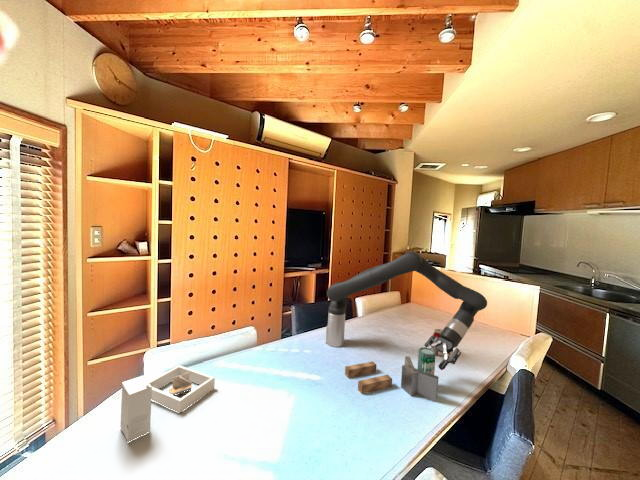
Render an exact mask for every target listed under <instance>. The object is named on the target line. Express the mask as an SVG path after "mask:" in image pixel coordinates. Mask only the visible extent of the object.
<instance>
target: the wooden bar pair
mask: <svg viewBox="0 0 640 480" xmlns="http://www.w3.org/2000/svg"><path fill="white" fill-rule="evenodd" d="M344 367H345V368H344V375H345V376H346V378H347V379H350V378H355V377H361V376H364V375H371V374H375V373H377V364H376V362H374V361H373V360H372V361H367V362H362V363H357V364H352V365H346V366H344ZM388 388H393V378H392V377H391V376H390V375H389V374H384V375H380V376H379V375H378V376H375V377H369V378H365V379H360V380H358V381H357V390H358V392H359V393H360V395H363V394H364V395H365V394H368V393H372V392H377V391H380V390H385V389H388Z"/></svg>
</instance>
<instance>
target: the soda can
mask: <svg viewBox="0 0 640 480" xmlns="http://www.w3.org/2000/svg"><path fill="white" fill-rule="evenodd" d="M442 331H443V329H441V328H435V329H434V331H433V332H432V335H433V336H434V337H435V338H439V337H440V333H441V332H442ZM435 347H436V346H435ZM435 352H436V356H438V357H444V354H443V353H442V352H439V351H435Z"/></svg>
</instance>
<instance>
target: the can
mask: <svg viewBox="0 0 640 480" xmlns="http://www.w3.org/2000/svg"><path fill="white" fill-rule="evenodd" d="M417 354H418V355H417V369H419V370H421V371H424V372H427V373H430V374H432V375H435V371H436V370H435V368H436V356H437V355H436V352H435V351H434V350H432V349H429V348H426V347H425V346H423V347H419V348H418V353H417Z"/></svg>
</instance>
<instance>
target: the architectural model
mask: <svg viewBox="0 0 640 480" xmlns="http://www.w3.org/2000/svg"><path fill="white" fill-rule="evenodd" d="M187 390H190V391H189V392H191V391H192V382H191V381H189V373H186V374H183V375H179V376H176V377H173V381H172V388H169V389H168V391H169V394H171V395H175V394H178V393H181V395H184V394H187V392H188V391H187ZM184 391H185V393H184ZM186 391H187V392H186ZM178 395H179V394H178Z"/></svg>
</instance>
